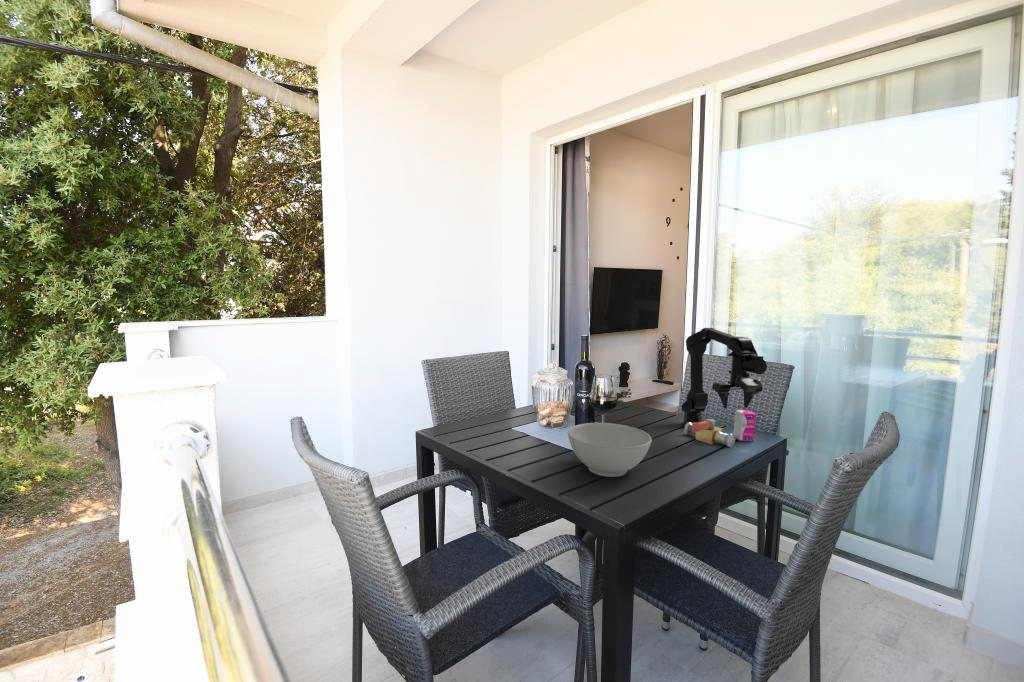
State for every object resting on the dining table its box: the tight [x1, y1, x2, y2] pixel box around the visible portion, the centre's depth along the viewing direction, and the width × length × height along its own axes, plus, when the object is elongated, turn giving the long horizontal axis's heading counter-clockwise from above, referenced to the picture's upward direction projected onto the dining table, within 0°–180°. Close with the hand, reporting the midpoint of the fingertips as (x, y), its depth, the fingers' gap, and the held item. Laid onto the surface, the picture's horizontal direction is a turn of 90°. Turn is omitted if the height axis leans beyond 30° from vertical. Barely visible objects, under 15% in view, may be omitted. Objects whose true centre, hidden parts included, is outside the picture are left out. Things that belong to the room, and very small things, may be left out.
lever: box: [692, 418, 716, 432], centre depth 191 cm, size 13×4×3 cm, turn 126°
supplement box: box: [732, 409, 757, 442], centre depth 197 cm, size 6×6×12 cm
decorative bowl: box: [567, 422, 652, 478], centre depth 160 cm, size 27×27×12 cm
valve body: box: [683, 422, 736, 448], centre depth 194 cm, size 19×7×5 cm, turn 36°
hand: (735, 408), depth 192 cm, fingers open, 9 cm apart
